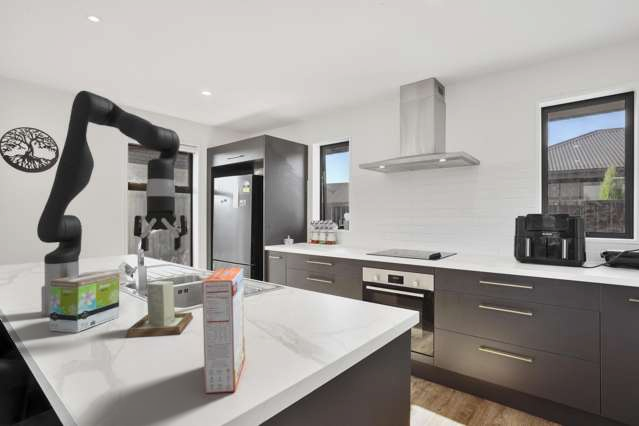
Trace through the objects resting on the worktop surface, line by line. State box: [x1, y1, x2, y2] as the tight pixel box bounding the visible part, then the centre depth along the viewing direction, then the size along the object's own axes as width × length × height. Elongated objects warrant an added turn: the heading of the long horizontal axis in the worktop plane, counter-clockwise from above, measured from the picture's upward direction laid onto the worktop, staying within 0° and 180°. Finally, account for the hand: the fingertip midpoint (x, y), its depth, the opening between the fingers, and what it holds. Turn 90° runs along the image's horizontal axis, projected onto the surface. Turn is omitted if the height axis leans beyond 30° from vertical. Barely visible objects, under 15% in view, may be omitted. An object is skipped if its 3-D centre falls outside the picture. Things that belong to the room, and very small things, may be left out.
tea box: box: [49, 271, 120, 334], centre depth 101 cm, size 15×10×15 cm, turn 168°
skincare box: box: [146, 280, 176, 326], centre depth 97 cm, size 6×4×12 cm
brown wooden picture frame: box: [125, 311, 194, 338], centre depth 97 cm, size 14×14×2 cm
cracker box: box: [201, 267, 246, 394], centre depth 68 cm, size 14×6×21 cm, turn 5°
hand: (161, 250), depth 97 cm, fingers open, 8 cm apart
